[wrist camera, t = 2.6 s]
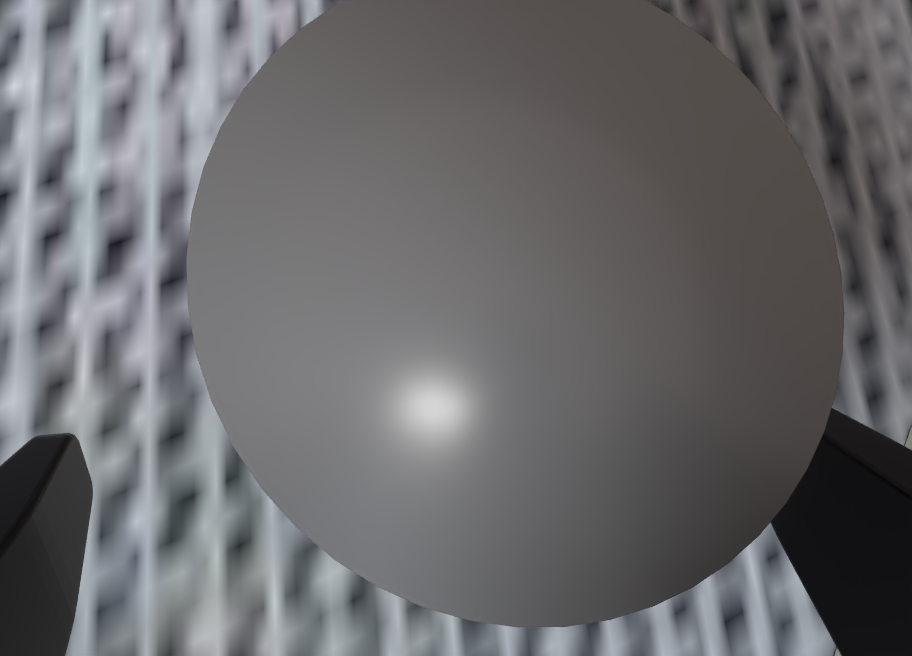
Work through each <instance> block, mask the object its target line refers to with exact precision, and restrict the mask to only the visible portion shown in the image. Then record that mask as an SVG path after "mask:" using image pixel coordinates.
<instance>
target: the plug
mask: <svg viewBox="0 0 912 656" xmlns="http://www.w3.org/2000/svg"><path fill="white" fill-rule="evenodd" d="M187 289H188V309H189V315H190V320H191V326H192V332H193V338H194V343H195V349H196V355H197V358H198V361H199V364H200V367H201V370H202V373H203V376H204V379H205V382H206V386H207V389H208V392H209V395H210V398H211V401H212V403H213V405H214V407H215V409H216V412H217V414H218V416H219V418H220V420H221V422H222V424H223V426H224V428H225V430H226V432H227V434H228V436H229V438H230V440H231V442H232V444H233V447H234V448H235V450H236V451H237V453H238V454H239V456H240V457H241V459H242V460H243V461H244V463H245V464H246V466H247V467H248V469H249V470H250V472H251V473H252V475H253V476H254V478H255V479H256V481H257V482H258V484H259V485H260V487H261V488H262V490H263V491H264V492H265V493H266V494H267V495H268V496H269V497H270V499H271V500H272V501H273V502H274V503H275V504H276V505H277V506H278V507H279V509H280V510H281V511H282V512H283V513H284V514H285V515H286V516H287V518H288V519H289V520H290V521H291V522H292V523H293V524H294V525H295V526H296V527H297V528H298V529H299V530H300V531H301V532H302V533H304V534H305V535H306V536H307V537H308V538H310V539H311V540H312V541H313V542H314V543H315V544H317V545H318V546H319V547H320V548H321V549H323V550H324V551H325V552H326V553H327V554H328V555H330V556H331V557H332V558H333V559H334V560H336V561H337V562H339V563H341V564H342V565H344V566H345V567H347V568H349V569H350V570H352V571H353V572H355V573H356V574H358V575H360V576H361V577H363V578H364V579H366V580H368V581H369V582H371V583H372V584H374V585H376V586H377V587H379V588H381V589H384V590H386V591H388V592H390V593H393V594H395V595H397V596H399V597H401V598H404V599H406V600H408V601H410V602H413V603H415V604H417V605H419V606H422V607H424V608H428V609H431V610H435V611H438V612H442V613H445V614H449V615H452V616H455V617H459V618H462V619H466V620H469V621H476V622H483V623H491V624H498V625H505V626H512V627H567V626H573V625H580V624H586V623H592V622H599V621H605V620H611V619H614V618H617V617H621V616H624V615H627V614H630V613H633V612H637V611H640V610H643V609H646V608H650V607H653V606H655V605H657V604H659V603H661V602H663V601H665V600H667V599H670V598H672V597H674V596H676V595H678V594H680V593H682V592H684V591H686V590H688V589H690V588H692V587H694V586H695V585H697V584H698V583H700V582H701V581H703V580H704V579H706V578H707V577H709V576H710V575H712V574H713V573H715V572H716V571H718V570H719V569H721V568H722V567H724V566H725V565H727V564H728V563H729V562H730V561H731V560H733V559H734V558H735V557H736V556H737V555H738V554H739V553H740V552H741V551H742V550H744V549H745V548H746V547H747V546H748V545H749V544H750V543H751V542H752V541H754V540H755V539H756V538H757V537H758V536H759V535H760V534H761V533H762V531H763V530H764V529H765V528H766V527H767V525H768V524H769V523H770V522H771V521H772V519H773V518H774V517H775V516H776V515H777V513H778V512H779V511H780V510H781V509H782V507H783V506H784V505H785V504H786V502H787V501H788V499H789V498H790V496H791V494H792V493H793V491H794V489H795V488H796V486H797V485H798V483H799V481H800V480H801V478H802V477H803V475H804V473H805V472H806V470H807V469H808V466H809V464H810V462H811V460H812V458H813V455H814V453H815V451H816V449H817V446H818V444H819V442H820V440H821V437H822V435H823V433H824V431H825V427H826V424H827V421H828V417H829V414H830V411H831V407H832V404H833V401H834V397H835V394H836V389H837V383H838V377H839V371H840V365H841V359H842V352H843V329H844V305H843V291H842V278H841V270H840V265H839V260H838V255H837V250H836V244H835V239H834V234H833V231H832V228H831V225H830V222H829V218H828V215H827V212H826V209H825V206H824V203H823V199H822V197H821V194H820V192H819V190H818V187H817V185H816V183H815V181H814V178H813V176H812V174H811V171H810V169H809V167H808V165H807V162H806V160H805V159H804V157H803V155H802V153H801V152H800V150H799V148H798V146H797V145H796V143H795V141H794V140H793V138H792V136H791V134H790V133H789V131H788V129H787V127H786V126H785V125H784V123H783V122H782V120H781V119H780V118H779V116H778V115H777V114H776V112H775V111H774V110H773V108H772V107H771V105H770V104H769V103H768V101H767V100H766V99H765V97H764V96H763V95H762V94H761V92H760V91H759V90H758V89H757V88H756V87H755V86H754V85H753V84H752V83H751V81H750V80H749V79H748V78H747V77H746V76H745V75H744V74H743V73H742V71H741V70H740V69H739V68H738V67H737V66H736V65H735V64H734V63H733V62H731V61H730V60H729V59H728V58H727V57H726V56H725V55H724V54H722V53H721V52H720V51H719V50H718V49H717V48H716V47H715V46H713V45H712V44H711V43H710V42H709V41H708V40H706V39H705V38H704V37H702V36H701V35H699V34H698V33H697V32H695V31H694V30H692V29H691V28H690V27H688V26H687V25H685V24H684V23H683V22H681V21H680V20H678V19H677V18H676V17H674V16H672V15H670V14H668V13H667V12H665V11H663V10H661V9H659V8H658V7H656V6H654V5H652V4H651V3H649V2H647V1H645V0H345V1H343V2H341V3H339V4H337V5H335V6H334V7H332V8H331V9H329V10H328V11H326V12H325V13H323V14H322V15H320V16H319V17H317V18H316V19H314V20H313V21H311V22H310V23H309V24H307V25H306V26H304V27H303V28H301V29H300V30H299V31H298V32H297V33H296V34H295V35H294V36H293V37H291V38H290V39H289V40H288V41H287V42H286V43H285V44H284V45H283V46H282V47H280V48H279V49H278V50H277V51H276V52H275V53H274V54H273V55H272V56H271V57H270V58H269V59H268V60H267V62H266V63H265V64H264V65H263V66H262V68H261V69H260V70H259V71H258V72H257V74H256V75H255V76H254V77H253V78H252V80H251V81H250V82H249V83H248V84H247V86H246V87H245V88H244V89H243V91H242V93H241V94H240V96H239V98H238V99H237V101H236V103H235V104H234V106H233V107H232V109H231V111H230V112H229V114H228V116H227V117H226V119H225V121H224V122H223V124H222V125H221V128H220V130H219V132H218V135H217V137H216V139H215V142H214V144H213V146H212V149H211V151H210V153H209V156H208V158H207V160H206V163H205V165H204V168H203V171H202V175H201V179H200V183H199V186H198V190H197V194H196V198H195V202H194V205H193V209H192V215H191V224H190V233H189V241H188V250H187Z"/></svg>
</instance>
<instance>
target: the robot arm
mask: <svg viewBox="0 0 912 656" xmlns="http://www.w3.org/2000/svg"><path fill="white" fill-rule="evenodd" d="M92 498H93V488H92V481H91V477H90V474H89V471H88V468H87V465H86V462H85V459H84V455H83V452H82V449H81V446H80V443H79V441H78V439H77V438H76V436H75V435H73V434H70V433H62V434H48V435H39V436H36V437H34V438H32V439H31V440H30V441H28V442H27V443H26V444H25V445H24V446H23V447H21V448H20V449H19V450H18V451H17V452H16V453H15V454H13V455H12V456H11V457H10V458H9V459H8V460H7V461H5V462H4V463H3V464H2V465H1V466H0V656H65V654H66V650H67V646H68V643H69V639H70V635H71V631H72V627H73V623H74V618H75V612H76V607H77V601H78V594H79V587H80V581H81V574H82V567H83V560H84V553H85V547H86V540H87V533H88V526H89V520H90V513H91V506H92ZM771 524H772V526H773V528H774V531H775V533H776V535H777V537H778V539H779V541H780V543H781V545H782V547H783V549H784V551H785V553H786V554H787V556H788V558H789V560H790V562H791V564H792V565H793V567H794V569H795V571H796V573H797V575H798V577H799V578H800V580H801V582H802V584H803V586H804V588H805V589H806V591H807V593H808V595H809V597H810V599H811V601H812V602H813V604H814V606H815V608H816V610H817V612H818V613H819V615H820V617H821V619H822V621H823V623H824V625H825V626H826V628H827V630H828V632H829V634H830V636H831V637H832V639H833V641H834V643H835V645H836V647H837V649H838V650H839V652H840V654H841V656H912V450H911V449H909V448H907V447H905V446H903V445H901V444H899V443H897V442H895V441H894V440H892V439H890V438H888V437H886V436H884V435H882V434H880V433H878V432H877V431H875V430H873V429H871V428H869V427H867V426H865V425H863V424H861V423H859V422H858V421H856V420H854V419H852V418H850V417H848V416H846V415H844V414H842V413H840V412H839V411H837V410H835V409H833V408H831V411H830V414H829V417H828V421H827V424H826V427H825V431H824V433H823V435H822V437H821V440H820V442H819V444H818V446H817V449H816V451H815V453H814V455H813V458H812V460H811V462H810V464H809V466H808V469H807V470H806V472H805V473H804V475H803V477H802V478H801V480H800V481H799V483H798V485H797V486H796V488H795V489H794V491H793V493H792V494H791V496H790V498H789V499H788V501H787V502H786V504H785V505H784V506H783V507H782V509H781V510H780V511H779V512H778V513H777V515H776V516H775V517H774V518H773V519H772V521H771Z"/></svg>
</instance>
